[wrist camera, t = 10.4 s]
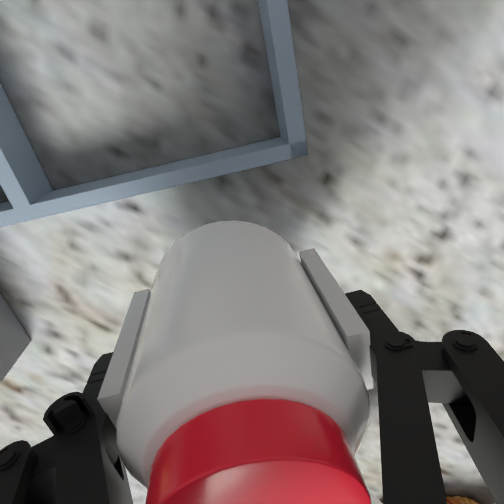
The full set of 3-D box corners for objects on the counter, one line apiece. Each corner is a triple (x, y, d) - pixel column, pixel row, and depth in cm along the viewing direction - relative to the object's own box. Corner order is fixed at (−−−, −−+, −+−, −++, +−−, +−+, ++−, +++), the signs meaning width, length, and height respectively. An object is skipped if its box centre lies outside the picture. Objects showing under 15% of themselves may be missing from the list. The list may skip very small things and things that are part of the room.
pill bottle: (132, 323, 18) (45, 604, 8) (189, 193, 16) (162, 376, 6) (261, 363, 20) (313, 620, 11) (330, 255, 18) (484, 462, 8)
